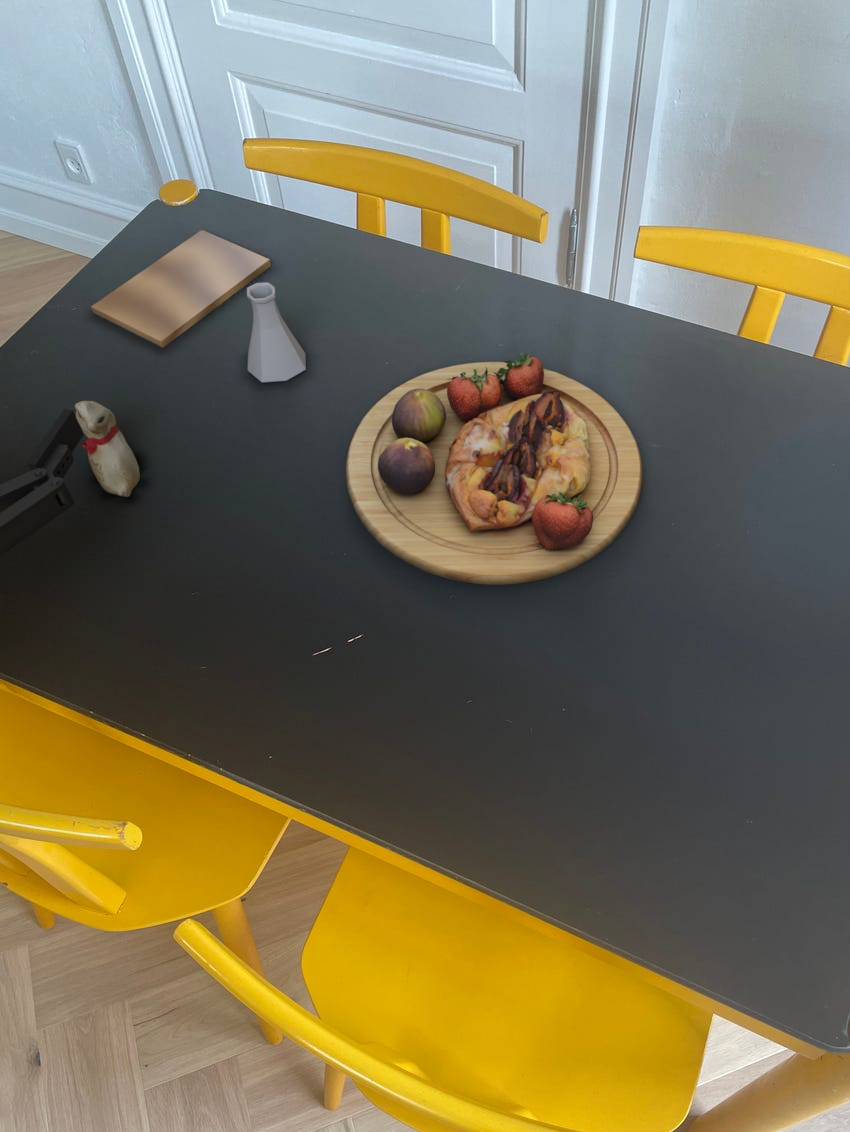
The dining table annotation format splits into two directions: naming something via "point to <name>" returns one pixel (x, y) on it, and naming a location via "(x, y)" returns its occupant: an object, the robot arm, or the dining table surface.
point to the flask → (271, 339)
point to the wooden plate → (494, 472)
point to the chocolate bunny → (107, 449)
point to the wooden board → (181, 288)
